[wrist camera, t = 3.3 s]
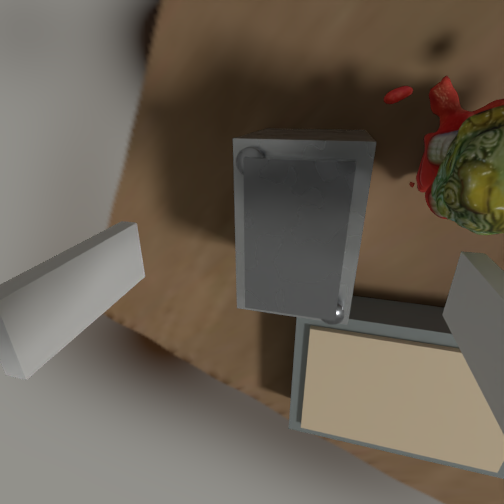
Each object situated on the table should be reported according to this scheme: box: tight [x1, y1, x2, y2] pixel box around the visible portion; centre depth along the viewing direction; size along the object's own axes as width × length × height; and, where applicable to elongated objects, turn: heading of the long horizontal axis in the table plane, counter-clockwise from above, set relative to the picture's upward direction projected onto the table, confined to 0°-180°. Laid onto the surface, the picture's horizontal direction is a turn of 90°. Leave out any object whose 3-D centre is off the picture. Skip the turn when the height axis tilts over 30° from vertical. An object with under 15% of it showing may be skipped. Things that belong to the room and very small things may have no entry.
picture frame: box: [289, 296, 504, 479], centre depth 24 cm, size 12×16×3 cm
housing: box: [233, 128, 376, 325], centre depth 18 cm, size 9×6×8 cm, turn 0°
